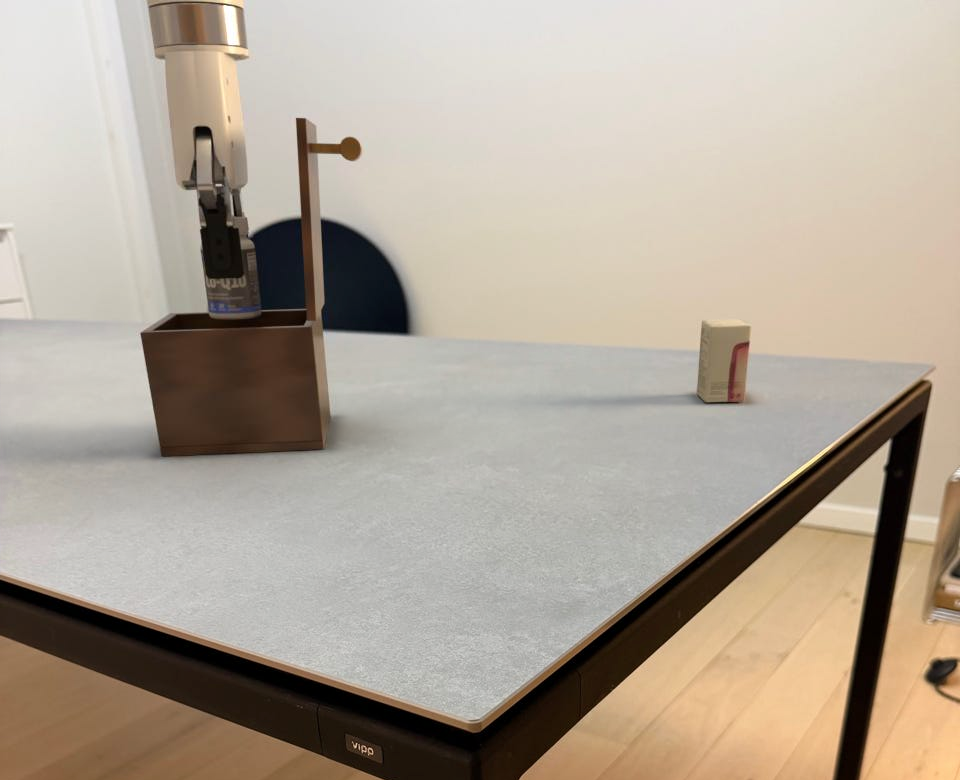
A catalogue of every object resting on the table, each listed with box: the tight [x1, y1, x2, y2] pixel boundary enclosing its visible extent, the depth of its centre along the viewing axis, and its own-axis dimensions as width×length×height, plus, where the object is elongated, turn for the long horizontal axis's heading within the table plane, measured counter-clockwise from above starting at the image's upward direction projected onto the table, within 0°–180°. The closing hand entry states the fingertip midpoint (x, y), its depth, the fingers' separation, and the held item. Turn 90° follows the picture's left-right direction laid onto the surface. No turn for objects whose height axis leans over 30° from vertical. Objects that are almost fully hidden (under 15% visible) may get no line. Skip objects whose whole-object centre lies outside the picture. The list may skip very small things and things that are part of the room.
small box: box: [696, 318, 752, 403], centre depth 101 cm, size 5×4×8 cm
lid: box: [295, 117, 363, 321], centre depth 84 cm, size 15×13×5 cm
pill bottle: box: [200, 216, 262, 320], centre depth 85 cm, size 5×5×8 cm
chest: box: [139, 308, 332, 457], centre depth 90 cm, size 15×13×11 cm
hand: (230, 272), depth 86 cm, fingers closed on pill bottle, 4 cm apart
